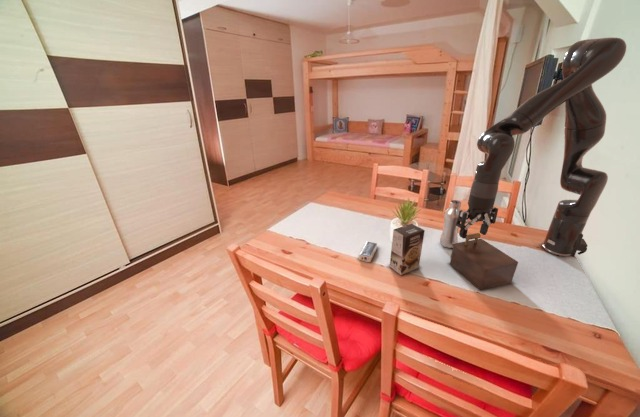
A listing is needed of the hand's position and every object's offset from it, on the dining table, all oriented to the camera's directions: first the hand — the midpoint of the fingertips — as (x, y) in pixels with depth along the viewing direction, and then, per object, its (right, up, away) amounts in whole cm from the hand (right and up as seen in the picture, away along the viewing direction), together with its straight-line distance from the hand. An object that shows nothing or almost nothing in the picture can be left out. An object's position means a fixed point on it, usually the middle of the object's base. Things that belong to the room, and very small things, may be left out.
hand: (472, 235), depth 94 cm
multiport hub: (-35, -9, +13) cm, 38 cm away
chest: (+2, -13, 0) cm, 14 cm away
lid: (+2, -6, -3) cm, 7 cm away
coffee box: (-23, -12, +4) cm, 27 cm away
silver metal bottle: (-1, -6, +16) cm, 17 cm away
